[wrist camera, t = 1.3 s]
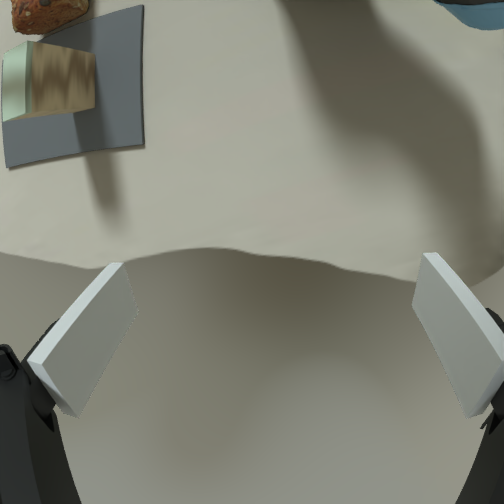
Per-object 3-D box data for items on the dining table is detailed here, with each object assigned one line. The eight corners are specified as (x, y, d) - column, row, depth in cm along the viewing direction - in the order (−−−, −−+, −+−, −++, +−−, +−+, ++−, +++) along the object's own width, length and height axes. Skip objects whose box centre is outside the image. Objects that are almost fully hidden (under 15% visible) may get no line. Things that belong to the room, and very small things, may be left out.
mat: (4, 59, 30) (2, 59, 29) (143, 5, 28) (142, 4, 27) (8, 167, 38) (6, 168, 37) (144, 143, 36) (142, 144, 36)
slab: (72, 61, 30) (4, 53, 18) (94, 53, 30) (27, 40, 18) (72, 112, 34) (2, 121, 21) (95, 107, 34) (25, 113, 21)
